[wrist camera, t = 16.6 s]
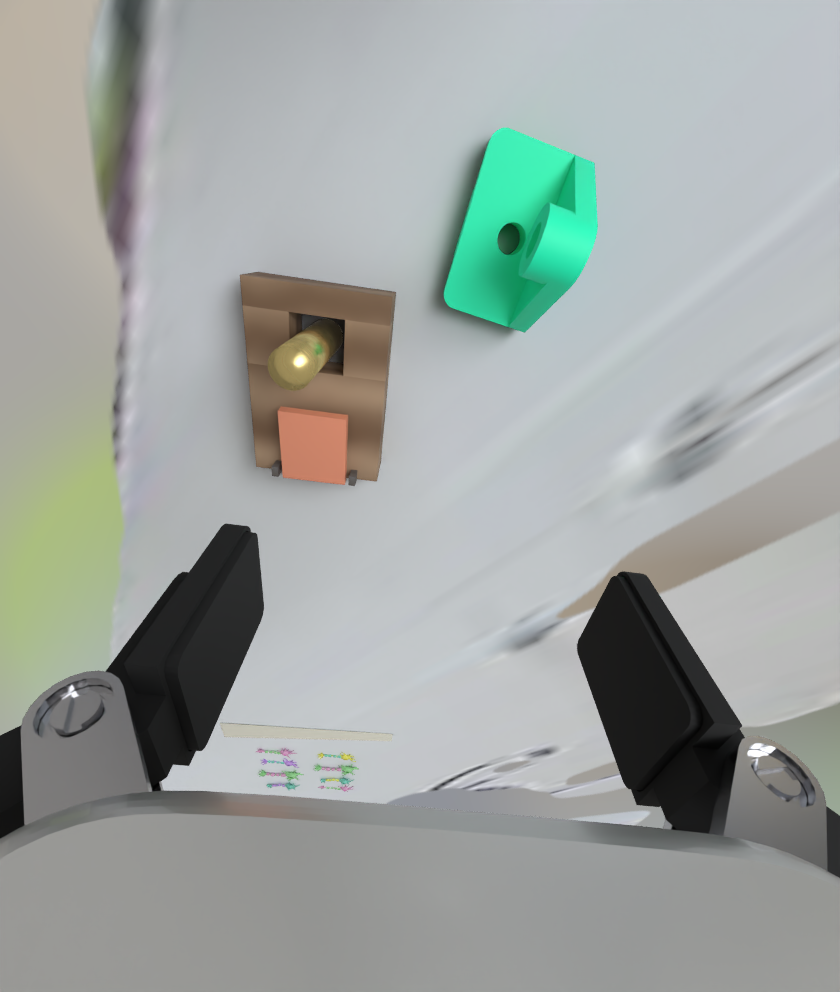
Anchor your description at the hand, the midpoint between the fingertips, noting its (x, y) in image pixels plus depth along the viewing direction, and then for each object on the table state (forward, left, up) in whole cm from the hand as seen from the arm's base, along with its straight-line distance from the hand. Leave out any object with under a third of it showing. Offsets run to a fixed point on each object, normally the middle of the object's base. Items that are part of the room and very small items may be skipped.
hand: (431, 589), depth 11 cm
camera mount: (-9, +5, -33) cm, 34 cm away
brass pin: (+1, -9, -32) cm, 34 cm away
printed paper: (+82, -12, -33) cm, 89 cm away
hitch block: (+5, -9, -32) cm, 34 cm away
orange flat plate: (+10, -9, -28) cm, 31 cm away
